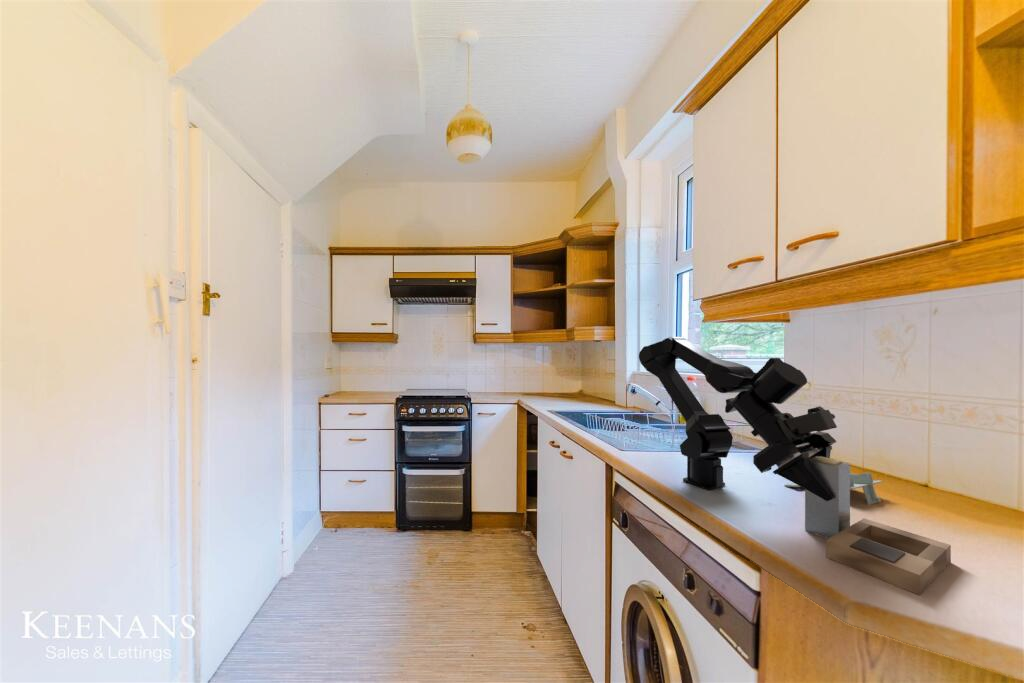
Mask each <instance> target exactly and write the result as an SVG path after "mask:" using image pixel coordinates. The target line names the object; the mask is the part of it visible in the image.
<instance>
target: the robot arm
mask: <svg viewBox="0 0 1024 683" xmlns="http://www.w3.org/2000/svg"><path fill="white" fill-rule="evenodd" d="M638 359H639V362H640V364H641V365H642V366H643V368H644V369H645V370H646V372H648V373H650V374H651V375H654V376H655V377H657V379H658V380H659V382H660V383H661V385H662V386H663V388H664V389H665V391H666V393H667V394H668V396H669V397H670V399H671V400H672V402H673V403H674V405H675V407H676V408H677V410H678V411H679V413H680V414H681V416H682V418H683V419H684V420H685V434H686V437H687V438H685V439H684V440H683V441H682V442H681V443H680V444H679V448H680V449H679V450H680V452H681V455H682V456H684V457H686V459H687V462H686V463H687V464H686V466H687V467H686V471H687V472H686V477H684V478H682V481H683V482H686V483H687V484H691V485H694V486H697V487H699V488H702V489H704V490H708V491H710V490H713V489H717V488H720V487H724V486H726V482H724V467H723V465H722V458H725V459H726V458H727V457H728V455H729V452H730V449H731V448H732V446H733V445H732V444H733V439H734V436H733V435H732V432H731V431H730V430H731V427H730V426H729V425H727V424H726V421H724V418H723V417H722V416H721V415H720V414H719V413H715V414H710V413H708V411H706V410H705V408H704V407H703V405H701V403H700V402H699V400H698V399H697V397H696V396H695V394H694V393H693V391H692V390H691V389H690V387H689V386H688V384H687V383H686V381H685V380H684V379H683V377H682V376H681V374H680V373H679V371H678V370H677V368H676V366H677V365H676V364H677V359H680V360H681V361H683V362H685V363H686V364H688V365H689V366H691V367H692V368H694V369H695V370H697V371H698V372H700V373H702V375H704V377H705V380H706V382H707V383H708V384H709V385H710V386H711V387H712V388H713V389H714V390H715V391H717V393H720V394H736V393H737V395H736V396H734V397H731V398H727V399H725V407H724V408H725V410H724V412H725V413H726V414H729V413H733V412H736V411H737V413H738V414H739V415H740V416H742V418H743V419H744V420H745V422H747V424H748V425H749V426H750V427H751V428H752V431H751V432H750V433H751V434H752V436H753V437H760V438H761V440H763V442H764V443H765V445H767V446H765V447H764V448H763V449H761V450H760V451H758V452H756V454H754V455H753V457H752V458H753V459H752V460H753V461H752V463H753V465H754V466H755V467H756V468H757V470H758V471H759V472H760V474H762V473H765V472H766V473H767V472H769V471H771V470H772V467H773V466H775V465H776V467H777V468H776V469H774V470H773V471H772V473H773V474H774V475H778V476H780V477H782V478H783V479H785V480H788V481H790V482H791V483H795V484H797V485H799V486H801V488H802V489H804V490H805V489H806V490H808V491H810V492H811V493H813V494H815V495H817V496H819V497H820V498H822V499H824V500H826V501H829V500H831V499H833V496H832V495H831V493H830V492H829V491H828V489H827V488H826V486H825V485H824V484H823V483H822V481H821V480H820V479H819V477H818V476H817V475H816V473H815V472H814V471H813V470H812V468H811V467H810V465H809V458H813V457H816V456H818V457H819V456H821V457H826V458H831V453H832V452H831V451H832V450H833V446H832V445H834V444H835V443H837V442H838V441H837V440H836V439H835V438H834V437H833V436H832V435H831V434H829V432H825V431H828V430H832V429H837V428H838V427H837V424H836V422H835V419H836V416H835V414H834V413H831V411H830V410H829V409H825V408H824V407H822V406H821V405H819V406H815V407H811V408H808V409H807V413H806V414H803V415H802V414H801V415H798V416H795V417H794V415H792V413H790V412H782V411H781V410H780V409H779V408H778V407H776V405H774V404H777V405H782V404H785V402H786V401H787V400H788V399H790V398H791V397H792V396H794V395H795V394H796V393H797V392H798V391H800V390H801V389H802V388H803V387H804V386H805V385H806V384H807V383H808V378H807V377H806V375H805V374H804V372H803V371H801V370H800V369H798V368H796V367H795V366H793V365H791V364H790V363H787V362H785V361H782V359H781V358H780V357H770V358H769V359H768V360H767V361H766V362H765V363H764V365H763V366H762V367H761V368H760V369H759V370H758V371H757V372H754V371H753V369H752V368H751V367H750V366H747V365H744V364H741V363H738V362H734V361H729V360H724V359H722V358H719V357H718V356H716V355H713V354H712V353H710V352H708V351H706V350H704V349H702V348H701V347H699V346H697V345H696V344H694V343H692V342H690V341H689V340H688V339H687V338H684V337H682V336H669V337H666V338H664V339H662V340H661V341H657V342H655V343H651V344H649V345H645V346H643V347H642V349H641V350H640V351H639V354H638Z"/></svg>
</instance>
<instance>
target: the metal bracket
mask: <svg viewBox="0 0 1024 683" xmlns="http://www.w3.org/2000/svg"><path fill="white" fill-rule="evenodd" d="M880 483H883V480H874V479H873V477H872V474H871V473H870V472H864V473H863V472H862V473H860V474H855V473H851V472H850V490H853V489H854V490H855V489H858V488H862V491H863V494H864V497H865V500H866V503H867V505H872V503H873V504H876V503H880V502H881V501H882V500H881V498H880V497H878V496H877V493H876V490H875V487H874V485H875V484H880ZM783 486H784V487H789V488H800V487H801V486H799V485H797V484H795V483H793V482H791V483H790V482H789V483H786V484H784V485H783ZM801 488H802V487H801ZM875 502H876V503H875Z"/></svg>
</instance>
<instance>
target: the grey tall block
mask: <svg viewBox="0 0 1024 683" xmlns="http://www.w3.org/2000/svg"><path fill="white" fill-rule="evenodd" d="M809 465H810V467H811V468H812V470H813V471H814V472H815V473H816V475H817V476H818V477H819V479H820V480H821V481H822V483H823V484H824V485H825V486H826V488H827V489H828V491H829V492H830V493H831V495H832V496H833V499H831V500H829V501H826V500H824V499H822V498H820V497H819V496H817V495H815V494H813V493H811V492H810V491H808V490H806V489H804V494H805V495H804V531H805V530H806V531H805V532H808V533H811V532H812V533H811V534H814V533H815V534H814V535H816V534H818V535H817V536H819V535H820V536H819V537H822V536H823V537H822V538H824V537H826V538H825V539H827V538H828V539H829V538H831V537H832V536H834V535H836V534H837V533H839V532H841V531H843V530H844V529H846V528H848V527H850V526H851V489H850V473H851V467H850V466H851V464H850V463H849V462H844V461H843V460H840V459H835V458H831V457H830V458H826V457H821V456H819V457H818V456H816V457H813V458H809Z"/></svg>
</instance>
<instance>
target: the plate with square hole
mask: <svg viewBox="0 0 1024 683" xmlns="http://www.w3.org/2000/svg"><path fill="white" fill-rule="evenodd" d="M951 549H952V545H951V544H948V543H945V542H942V541H939V540H935V539H932V538H929V537H926V536H923V535H921V534H916V533H912V532H911V531H910V532H909V531H907V530H904V529H900V528H897V527H894V526H890V525H887V524H884V523H881V522H877V521H874V520H871V519H868V518H862V519H860V520H858V521H856V522H855V523H853V524H850V527H848V528H846V529H844V530H843V531H841V532H839V533H837V534H836V535H834V536H832V537H831V538H829V539H827V538H826V540H825V558H827V557H828V558H827V559H829V558H830V559H829V560H832V561H834V560H835V562H837V563H840V564H842V565H845V566H847V567H849V568H852V569H854V570H857V571H859V572H861V573H864V574H867V575H868V576H872V577H874V578H876V579H879V580H881V581H884V582H886V583H888V584H891V585H894V586H896V587H899V588H901V589H902V590H906V591H909V592H911V593H914V594H916V595H919V596H921V595H922V593H923V592H925V591H926V589H927V588H928V587H929V586H930V585H931V584H932V583H933V582H934V581H935V580H936V579H937V578H938V577H939V576H940V574H941V573H942V572H944V570H945V569H946V568H947V567H948V566H949V565H950V564H951V563H952V560H951V559H952V558H951V556H952V554H951V553H952V550H951Z"/></svg>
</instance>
